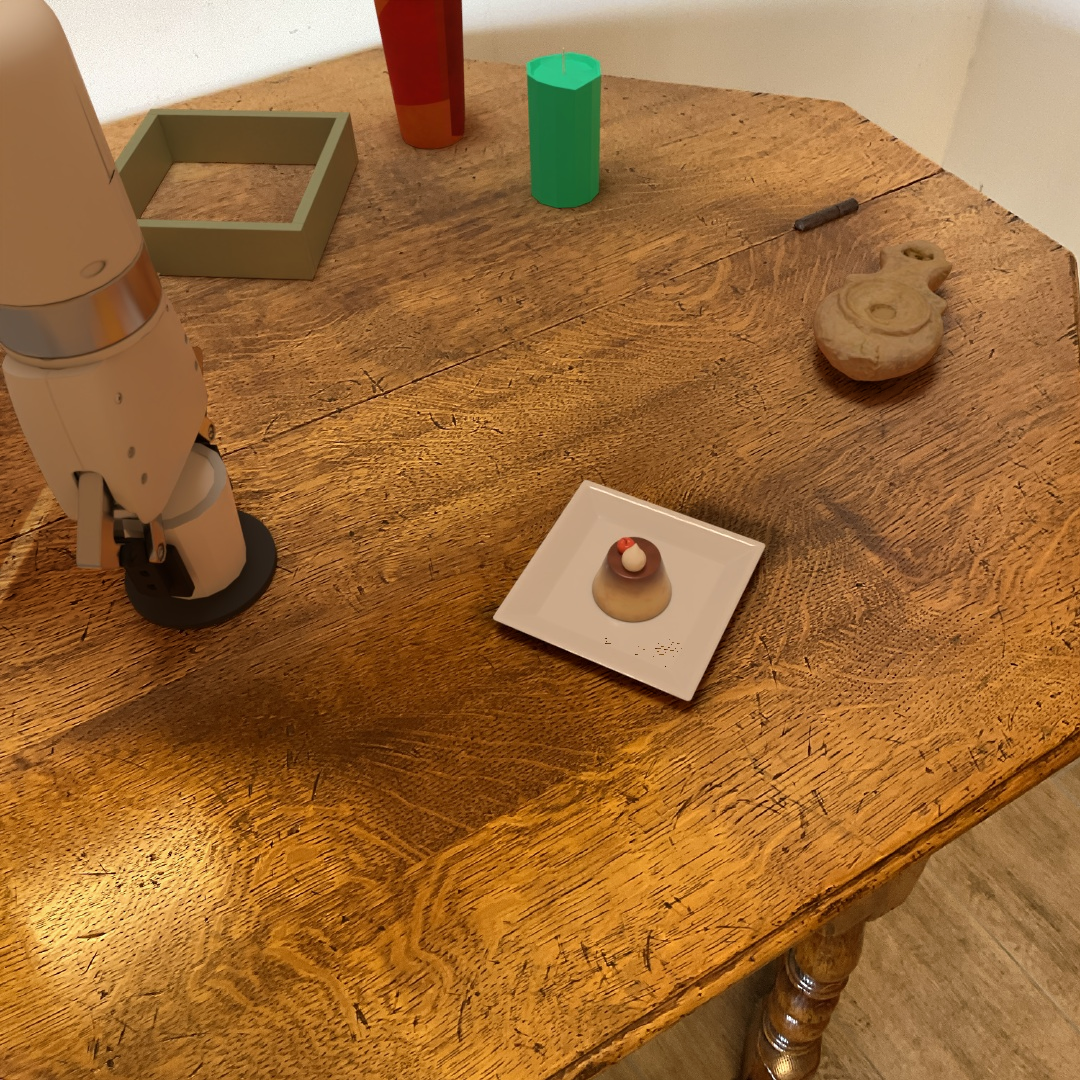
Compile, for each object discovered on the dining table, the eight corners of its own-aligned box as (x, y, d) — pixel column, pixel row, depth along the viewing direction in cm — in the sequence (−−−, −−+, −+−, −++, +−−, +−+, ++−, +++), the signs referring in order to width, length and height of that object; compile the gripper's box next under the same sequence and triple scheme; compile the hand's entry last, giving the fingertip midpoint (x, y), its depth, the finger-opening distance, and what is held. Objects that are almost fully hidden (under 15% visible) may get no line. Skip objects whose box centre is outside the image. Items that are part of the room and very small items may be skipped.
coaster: (105, 625, 58) (101, 619, 58) (156, 509, 64) (152, 503, 63) (255, 634, 57) (252, 628, 57) (293, 516, 63) (291, 510, 63)
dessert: (584, 490, 64) (585, 437, 60) (763, 555, 60) (776, 502, 56) (492, 629, 57) (487, 579, 54) (687, 712, 54) (696, 664, 50)
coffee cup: (443, 101, 97) (425, -70, 85) (495, 133, 93) (483, -42, 81) (370, 131, 94) (342, -43, 82) (421, 166, 89) (398, -12, 78)
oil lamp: (928, 280, 77) (947, 222, 73) (973, 407, 68) (997, 349, 64) (789, 279, 77) (800, 223, 74) (814, 406, 68) (829, 349, 64)
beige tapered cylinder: (120, 562, 60) (75, 483, 55) (216, 501, 63) (184, 421, 58) (180, 628, 57) (139, 551, 52) (279, 561, 60) (250, 482, 55)
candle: (522, 204, 85) (516, 62, 76) (539, 167, 89) (535, 28, 79) (591, 211, 84) (593, 69, 75) (605, 173, 88) (609, 33, 78)
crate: (94, 273, 80) (72, 224, 77) (166, 155, 92) (150, 108, 88) (312, 280, 79) (300, 230, 76) (358, 159, 90) (350, 111, 87)
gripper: (65, 182, 51) (174, 434, 64) (-103, 419, 40) (71, 661, 54) (209, 185, 50) (287, 439, 64) (78, 427, 39) (206, 670, 53)
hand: (188, 538), depth 59 cm, fingers closed on beige tapered cylinder, 6 cm apart
